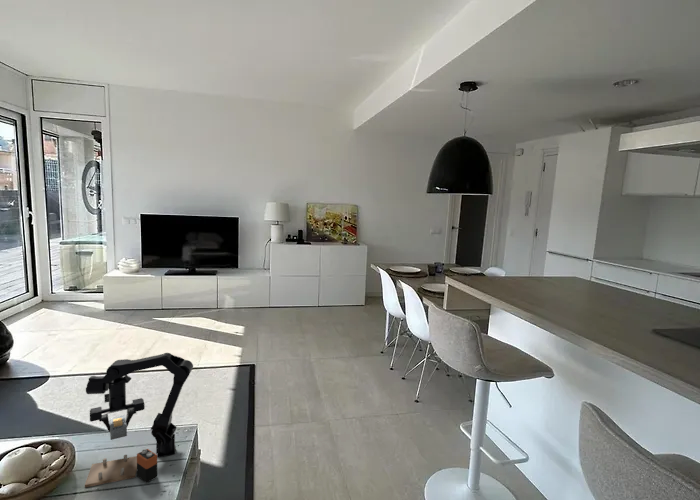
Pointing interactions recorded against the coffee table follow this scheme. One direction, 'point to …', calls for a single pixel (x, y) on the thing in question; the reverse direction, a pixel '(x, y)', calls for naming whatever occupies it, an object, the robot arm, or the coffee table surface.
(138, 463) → the battery
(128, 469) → the brown board with pegs
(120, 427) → the block
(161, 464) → the coffee table surface
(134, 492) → the coffee table surface
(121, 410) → the robot arm
